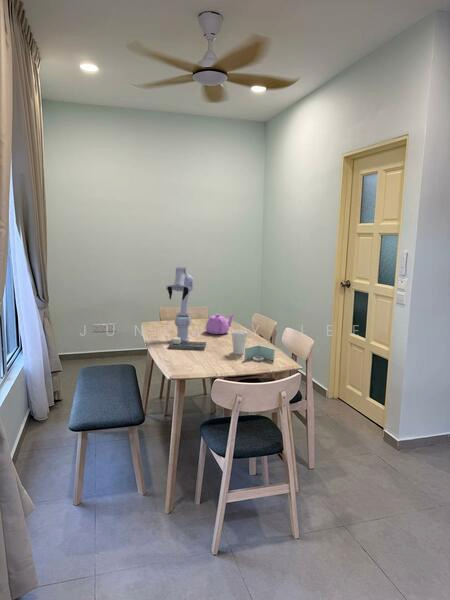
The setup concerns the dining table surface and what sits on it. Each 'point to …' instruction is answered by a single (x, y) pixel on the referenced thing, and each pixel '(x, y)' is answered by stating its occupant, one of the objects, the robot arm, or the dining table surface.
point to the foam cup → (239, 341)
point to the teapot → (218, 324)
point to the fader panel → (188, 345)
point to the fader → (176, 340)
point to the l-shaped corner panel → (259, 353)
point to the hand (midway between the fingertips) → (176, 298)
